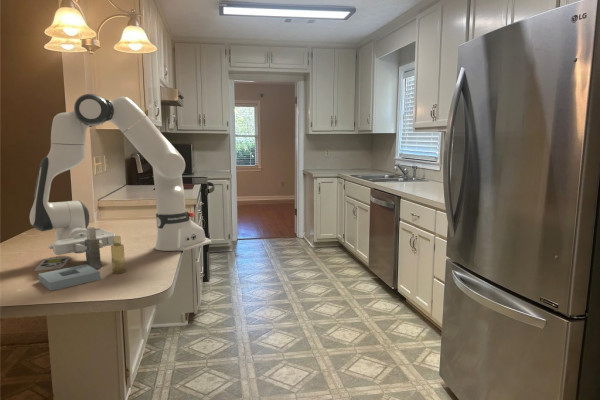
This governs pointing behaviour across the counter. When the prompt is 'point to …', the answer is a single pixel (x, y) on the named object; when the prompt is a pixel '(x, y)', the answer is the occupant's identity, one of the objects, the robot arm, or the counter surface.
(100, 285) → the counter surface
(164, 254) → the counter surface
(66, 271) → the socket plate
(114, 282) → the counter surface
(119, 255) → the gold bottle
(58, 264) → the handheld gaming device
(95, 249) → the square bit
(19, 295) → the counter surface
